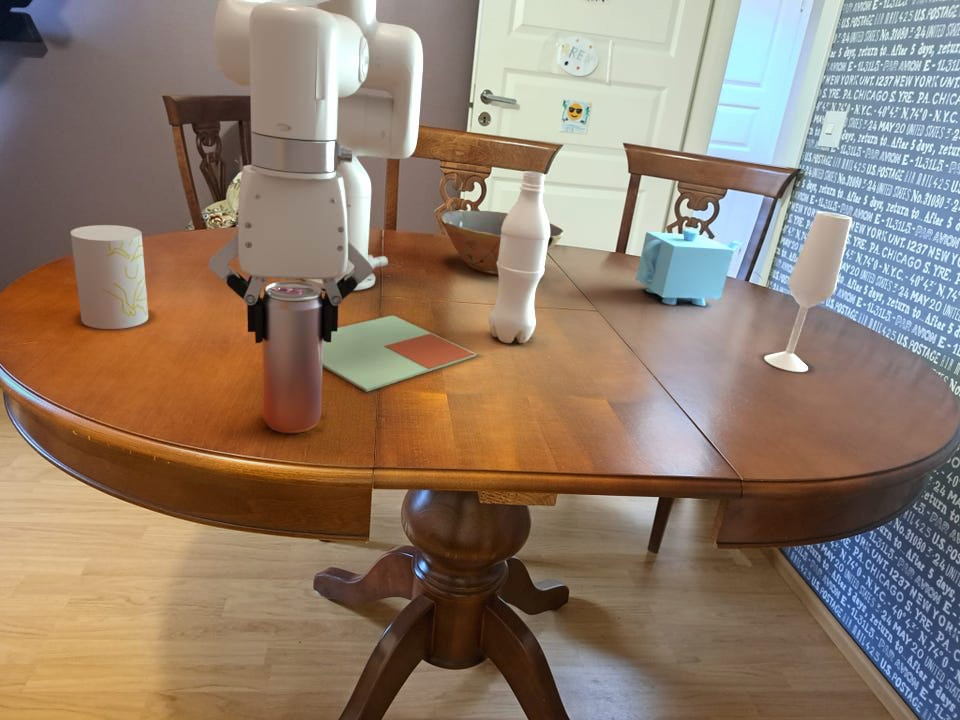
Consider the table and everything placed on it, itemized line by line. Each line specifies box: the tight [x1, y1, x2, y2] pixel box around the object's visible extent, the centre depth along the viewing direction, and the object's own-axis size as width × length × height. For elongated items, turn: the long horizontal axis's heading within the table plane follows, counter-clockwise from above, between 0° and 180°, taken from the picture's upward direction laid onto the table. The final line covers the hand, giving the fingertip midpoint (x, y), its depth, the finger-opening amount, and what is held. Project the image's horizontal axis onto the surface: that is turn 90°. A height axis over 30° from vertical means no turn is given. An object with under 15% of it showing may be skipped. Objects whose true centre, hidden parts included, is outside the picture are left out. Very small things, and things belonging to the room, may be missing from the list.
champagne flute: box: [763, 211, 853, 373], centre depth 102 cm, size 7×7×24 cm
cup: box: [70, 224, 149, 330], centre depth 89 cm, size 8×8×12 cm
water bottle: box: [488, 170, 550, 344], centre depth 98 cm, size 7×7×25 cm
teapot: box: [635, 228, 745, 306], centre depth 133 cm, size 22×11×14 cm, turn 105°
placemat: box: [322, 314, 478, 393], centre depth 92 cm, size 20×18×1 cm
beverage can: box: [261, 280, 324, 434], centre depth 69 cm, size 6×6×15 cm
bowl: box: [439, 210, 564, 276], centre depth 136 cm, size 25×25×10 cm
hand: (292, 336), depth 68 cm, fingers closed on beverage can, 6 cm apart
